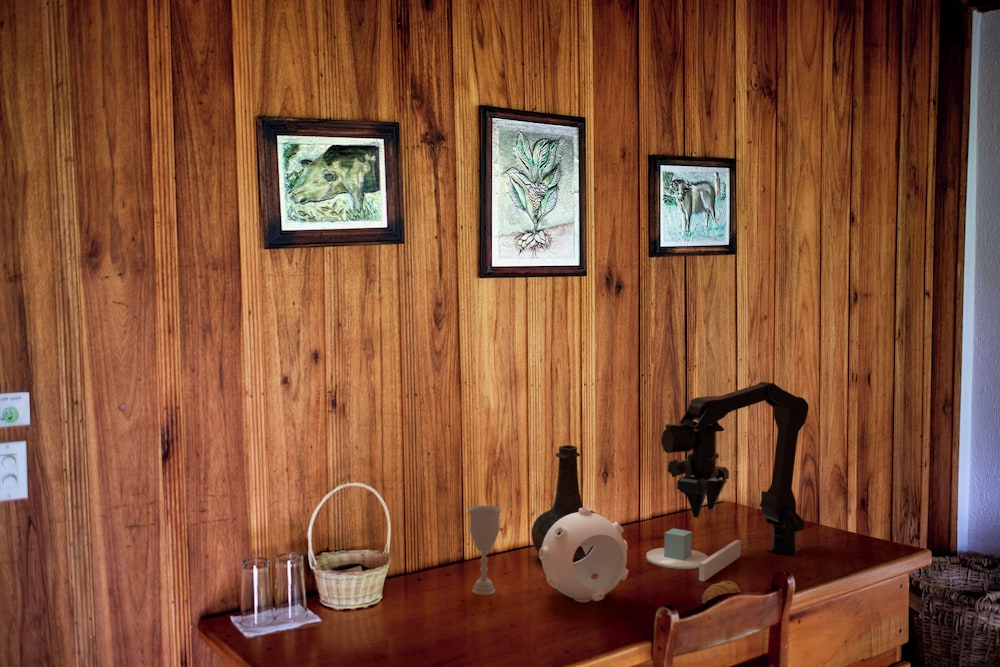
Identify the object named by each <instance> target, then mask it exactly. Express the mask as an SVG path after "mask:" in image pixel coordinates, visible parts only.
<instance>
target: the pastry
mask: <svg viewBox="0 0 1000 667" xmlns="http://www.w3.org/2000/svg"><path fill="white" fill-rule="evenodd" d="M737 592H741V589H740V588H739V586H738V584H736V583H735V582H734V581H731V580H725V581H724V580H721V582H717V583H713V584H711V585H709V586H708V588H707V589H706V590H705V591H704V592H703V594H702V596H701V601H702V604H706V603H705V602H707V601H708V600H710V599H712V598H714V597H716V596H718V595H722V594H726V593H737ZM741 593H742V592H741Z"/></svg>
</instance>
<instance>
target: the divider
mask: <svg viewBox="0 0 1000 667" xmlns="http://www.w3.org/2000/svg"><path fill="white" fill-rule="evenodd" d="M741 550H742V541H741V540H740V539H734V540H733V541H732V542H730V543H729V544H727V545H726V546H724V547H722V548H721V549H719V550H718V551H716V552H715V553H713V554H711V555H709V556H708V558H707V559H705V560H704V561H702V562H701V563H699V568H698V581H699V582H706V581H707V580H709V579H710V578H711V577H712V576H714V575H716V574H717V573H719V572H720V571H722V570H723V569H724V568H726V567H727V566H729V565H730V564H732V563H733V562H734V561H736V560H738V559H739V558H740V557H741V552H742V551H741Z"/></svg>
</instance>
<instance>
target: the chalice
mask: <svg viewBox="0 0 1000 667" xmlns="http://www.w3.org/2000/svg"><path fill="white" fill-rule="evenodd" d="M467 510H468V512H469V514H470V516H469V522H470V523H469V533H470V535H471V538H472V541H473V543H474V545H475V547H476V549H477V551H479V552H481V559H480V560H479V561H480V562H481V566H480V568H479V570H480V571H481V576H480V577H479V578H478V579H477V580H476V581H475V584H474V585H473V588H472V590H471V592H472V593H473V594H476V595H481V596H486V595H487V596H488V595H492V594H494V593H495V592H496V589H495V587H494V585H493V581H492V580H490V579H489V578H488V577H487V572H488V570H489V568H488V567H487V562H489V561H488V558H487V554H488V552H490V551H491V550H492V548H493V547H494V544H495V542H496V540H497V538H498V535H499V532H500V531H499V530H500V528H499V527H500V513H501V511H502V508H500V507H497V506H493V505H474V506H473V505H472V506H470V507H468V508H467Z"/></svg>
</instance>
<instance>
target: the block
mask: <svg viewBox="0 0 1000 667" xmlns="http://www.w3.org/2000/svg"><path fill="white" fill-rule="evenodd" d="M692 543H693V531H690V530H685V529H678V528H671V529H669V530H668V531H665V532H664V542H663V544H664V546H663V548H664V557H667V558H672V559H677V560H682V561H684V560H685V559H687V558H689V557H690V556H691V554H692V550H693V544H692Z"/></svg>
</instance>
